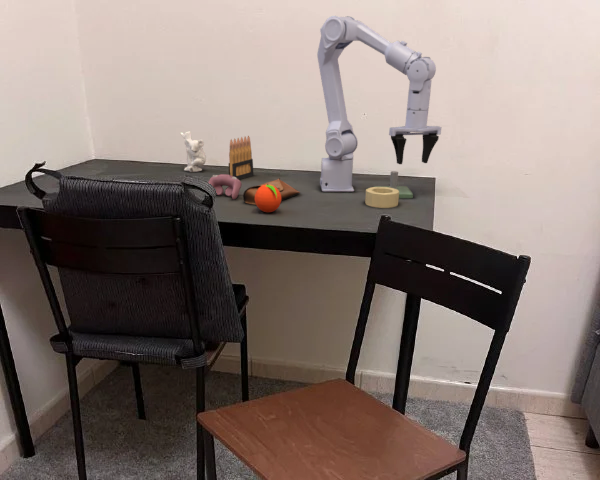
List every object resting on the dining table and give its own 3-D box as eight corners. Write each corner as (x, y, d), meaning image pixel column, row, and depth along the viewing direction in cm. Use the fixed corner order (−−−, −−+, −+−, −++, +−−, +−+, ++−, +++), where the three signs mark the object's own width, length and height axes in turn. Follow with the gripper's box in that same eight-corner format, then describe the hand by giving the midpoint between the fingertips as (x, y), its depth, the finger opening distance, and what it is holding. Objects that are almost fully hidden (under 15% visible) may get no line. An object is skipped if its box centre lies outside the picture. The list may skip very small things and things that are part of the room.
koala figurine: (177, 171, 203) (174, 131, 197) (191, 167, 208) (188, 129, 202) (197, 174, 200) (194, 134, 193) (210, 170, 205) (208, 131, 198)
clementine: (288, 214, 159) (288, 185, 156) (265, 217, 156) (265, 189, 153) (272, 207, 165) (272, 179, 161) (250, 210, 162) (249, 182, 158)
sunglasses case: (268, 205, 165) (257, 181, 163) (250, 215, 169) (239, 192, 168) (302, 192, 178) (292, 170, 177) (284, 202, 182) (274, 180, 181)
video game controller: (240, 203, 175) (244, 177, 174) (234, 198, 170) (238, 173, 170) (209, 199, 177) (212, 175, 177) (202, 195, 173) (206, 170, 172)
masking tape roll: (367, 207, 166) (368, 194, 164) (363, 199, 174) (364, 186, 172) (400, 208, 166) (401, 194, 165) (394, 200, 174) (395, 186, 172)
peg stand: (378, 198, 176) (379, 175, 172) (373, 190, 184) (374, 168, 181) (412, 198, 176) (415, 175, 173) (406, 190, 185) (408, 168, 181)
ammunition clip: (233, 181, 192) (231, 139, 186) (228, 180, 193) (226, 139, 186) (253, 175, 200) (252, 135, 193) (249, 174, 200) (247, 134, 194)
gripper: (398, 111, 158) (393, 167, 166) (449, 110, 162) (442, 164, 169) (387, 108, 164) (383, 162, 171) (436, 107, 168) (430, 159, 175)
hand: (412, 163), depth 171 cm, fingers open, 7 cm apart
